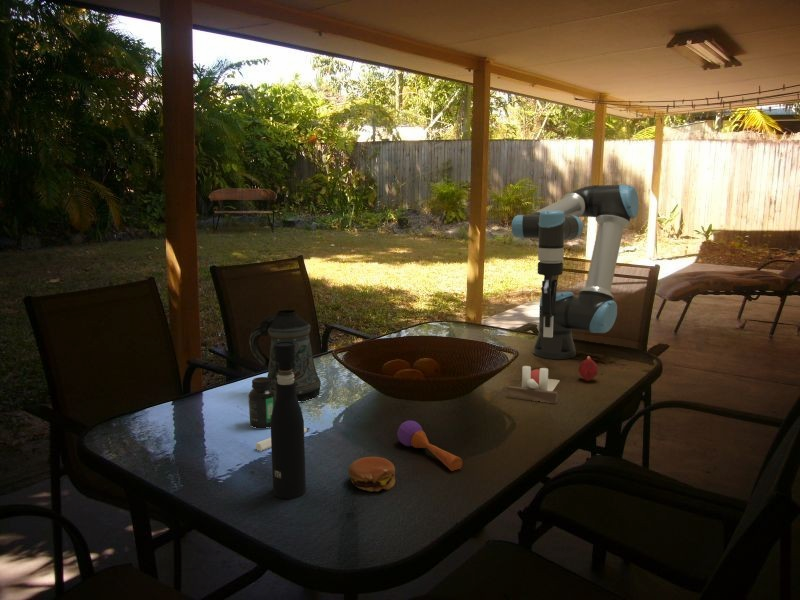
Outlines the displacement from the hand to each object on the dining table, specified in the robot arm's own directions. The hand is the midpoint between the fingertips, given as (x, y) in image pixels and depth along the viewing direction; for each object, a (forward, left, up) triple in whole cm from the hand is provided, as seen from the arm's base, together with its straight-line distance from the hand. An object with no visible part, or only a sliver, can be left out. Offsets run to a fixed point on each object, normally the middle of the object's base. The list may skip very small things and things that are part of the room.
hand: (548, 336), depth 189 cm
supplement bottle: (+68, -58, -15) cm, 90 cm away
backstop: (+20, 0, -14) cm, 25 cm away
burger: (+84, -18, -15) cm, 88 cm away
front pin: (+13, 0, -13) cm, 19 cm away
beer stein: (+46, -66, -15) cm, 82 cm away
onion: (-5, +12, -15) cm, 20 cm away
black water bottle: (+95, -31, -15) cm, 101 cm away
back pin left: (+17, +2, -14) cm, 22 cm away
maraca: (+67, -13, -15) cm, 70 cm away
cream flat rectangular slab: (+5, 0, -14) cm, 15 cm away
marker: (+74, -47, -15) cm, 89 cm away
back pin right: (+17, -3, -14) cm, 22 cm away
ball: (+9, -1, -11) cm, 15 cm away
